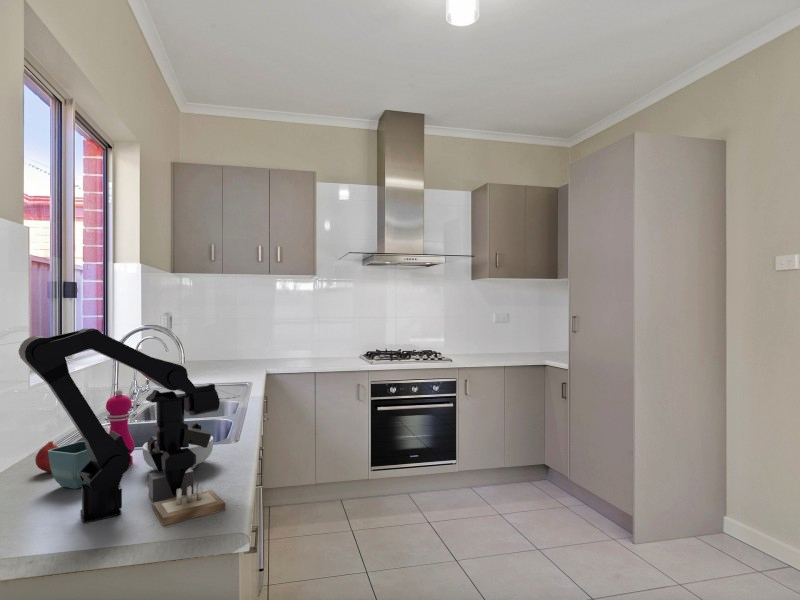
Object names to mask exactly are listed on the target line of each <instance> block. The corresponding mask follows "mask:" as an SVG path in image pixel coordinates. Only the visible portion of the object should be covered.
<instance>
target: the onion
mask: <svg viewBox="0 0 800 600" xmlns="http://www.w3.org/2000/svg"><path fill="white" fill-rule="evenodd" d="M58 447H59V446H58V445H56V444H54V441H53V440H50V441H48V442H47V443H46V444H45V445H44V446H42V447H41V448H40V449H39V450H38V451H37V454H36V456H35V458H34V460H35V465H36V467H37V468H38V469H39V470H41V471H44V472H45V473H49V474H51V473H52V472H51V467H50V461H49V455H48V450H51V449H54V448H58Z"/></svg>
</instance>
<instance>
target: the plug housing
mask: <svg viewBox="0 0 800 600" xmlns="http://www.w3.org/2000/svg"><path fill="white" fill-rule="evenodd" d="M188 486H191V487H192V494H195V493H194V489H195V488H194V470H193V469H191V468H189V469H188V470H187V471H186V472H185V475H184V478H183V482H182V485H181V490H182V496H186V495H187V487H188ZM148 497H149V499H150V500H151V502H152V503H155V502H159V501H164V500H168V499H173V498H176V495H175V496H174V495H173V493H172V491H171V489H170V486H169V484H168V481H167V479H166V476H165V474H164V472H163V471H160V472H158V471H155V472H151V473H148Z"/></svg>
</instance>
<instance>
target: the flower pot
mask: <svg viewBox="0 0 800 600" xmlns="http://www.w3.org/2000/svg"><path fill="white" fill-rule="evenodd" d="M48 455H49V461H50V467H51V472H50V473H51V475H52V476H53V478H54V480H55V481H56V483H58V484H59V486H60V487H64V488H70V489H74V490H75V489H76V490H77V489H79V488H82V484H86V483H85V482H83V481H82V480H81V478H80V476H79V472H80V470H81V469H82V468H83V467H84V466H85V465H86V464H87V463H88V462H89V461H90V458H89V455H88V453H87V449H86V445H85V441H84V440H80V441H76V442H73V443H70V444H69V443H68V444H66V445H63V446H62V445H61V446H58V448H54V449H51V450H48Z"/></svg>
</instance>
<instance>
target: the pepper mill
mask: <svg viewBox="0 0 800 600" xmlns="http://www.w3.org/2000/svg"><path fill="white" fill-rule="evenodd" d="M123 392H124V391H123V390H122V389H120V388H119V389H116V390H115V391H114V394H115V395H113V396H111V397H109V398H108V399H107V401H106V402H105V403H106V404H105V410H106V411H107V412H108V415H107V417H108V419H107V420H108V421H109V423H110V425H109V432H108V434H109V433H110V432H112V431H114V432H115V433H117V434H119V435H120V436H122V438H123V440H124V443H125V445H126V447H127V448H128V449H129V450H131V451H132V452H130V453H128V454H129V455H130V457H131V463H130V465H129V466H131V465H132V464H133V462H134V461H133V459H134V458H133V455H131V454H132V453H133V452H134V451H135V448H136V447H135V441H134V439H133V437H132V435H131V433H130V431H129V426H128V425H129V419H130V418H131V416H130V414H131V413H130V412H129V411H130V410H131V408H132V406H133V405H132V404H133V403H132V402H133V401H132V400H131V398H130V397H129V396H127V395H124V394H123Z"/></svg>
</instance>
